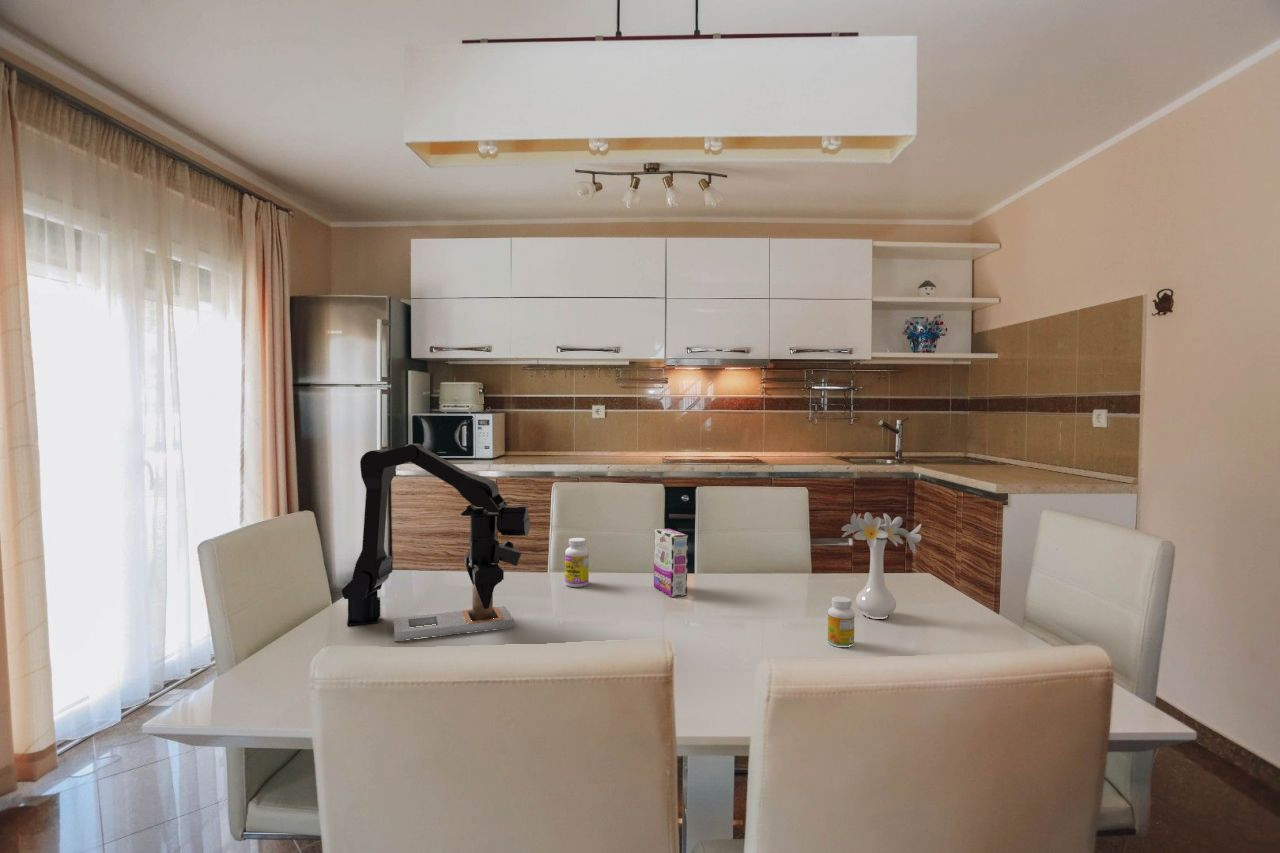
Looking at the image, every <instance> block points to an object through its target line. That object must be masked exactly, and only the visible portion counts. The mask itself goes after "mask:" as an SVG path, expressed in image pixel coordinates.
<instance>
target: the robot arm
mask: <svg viewBox="0 0 1280 853" xmlns="http://www.w3.org/2000/svg"><path fill="white" fill-rule="evenodd" d="M359 462H360V463H359V466H360V474H361V479H362V482H363V484H364V487H365V500H364V501H365V502H364V515H363V516H364V517H363V519H364V520H363V532H362V545H361V546H362V549H361V552H360V554H359V556H358V558H357V561H356V563H355V565H354V570H353V572H352V573H353V574H352V577H351V578H352V579H351V580H350V581H349V582H348V583H347V584H346V585H345V586H344V587H343V588H342V589H341V594H342V597H343V600H347V622H346V625H347V626H348V627H349V626H357V625H367V624H376V623H379V619H380V618H381V597H380V596H379V597H378V591H379V590H381V589H382V586H383V585H384V583H385V582H386V581H387V580H388V579H389V577H390V574H392V573H393V570H392V562H393V555H387V552H386V551H385V538H386V536H385V535H386V525H387V524H386V521H387V508H388V507H387V506H388V495H389V494H388V493H389V487H390V485H391V483H392V481H393V479H394V476H395V473H396V469H397V466H400V465H404V464H407V463H412V464H413V465H415V466H417V467H418V468H421V469H423V470H424V471H426V472H427V473H429V474H431V475H433V476H434V477H436V478H438V479H439V480H441V481H443V482H445V483H446V484H448V485H450V487H451V486H452V487H453V488H454V489H455V490H457V492H458V493H459V495H460V496H461V497H462V498H463V499H465V500H466V501H467V502H468V503H470V504H468V505H467V506H466V508H465V509H464V510H463V511H462V512H461V513H460V515H461V517H470V522H469V523H470V526H469V527H470V532H469V533H470V535H469V536H470V537H469V538H468V543H469V545H470V547H469V549H470V550H469V551H468V552H467V553H465V555H464V565H465V569H466V571H467V574H468V576H469V578H470V581H471V584H472V586H473V585H475V587H476V590H477V592H478V595H479V598H480V600H481V603H482V605H483V608H484V609H488V608H489V605H490V602H491V598H492V594H494V590H495V587H496V586H497V585H498V584H500V583H502V581H503V580H504V577H505V575H504V574H505V572H504V570H503V568H502V567H501V566H500V565H499V564H500V562H503V563H507V564H510V565H512V566H513V567H517V566H518V565H519V562H520V559H521V555H522V552H521V551H520V550H519V549H518V548H517V547H514V543H513V542H512V541H510V540H505V541H504V542H503V543H500V542H499V540H498V539H497V532H498V533H500V535H501V536H508V537H510V536H513V537H518V536H520V537H527V536H528V535H529V532H530V528H531V527H530V526H531V517H530V515H529V511H528V506H527V505H518V506H517V505H516V506H512V505H511V506H510V505H508V503H507V502H506V501H505V499H504V498H503V496H502V494H500V493H499V492H500V490H499V486H498V484H497V482H495V481H494V480H492V479H489V478H488V477H484V476H481V475H480V474H479V475H478V474H475V473H471V472H468V471H466V470H464V469H462V468H460V467H458V466H457V465H455V464H453V463H452V462H450V461H448V460H447V459H445V458H443V457H441V456H439V455H438V454H436V453H435V452H432V451H431V450H429V449H427V448H426V447H425V446H423V444H421V443H419V442H418V443H409V444H406V445H405V446H401V447H398V448H395V449H391V450H390V449H389V448H388V449H387V448H383V449H382V448H381V449H374V450H369V451H366V453H364V454H363V455H362V456H361V458H360V461H359Z"/></svg>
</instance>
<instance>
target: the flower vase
mask: <svg viewBox="0 0 1280 853" xmlns="http://www.w3.org/2000/svg"><path fill="white" fill-rule="evenodd" d="M861 514H862V513H859V514H858V515H857V516H856V513H855V512H853V514H852V515H851V518H850V524H849V523H848V524H845V525H843V526H842V527H841V531H843V532H844V533H843V534H842V536H841V538H845V537H846V536H848V535H850V534H852V533H855V532H856V533H855V534H854V536H853V537H854V539H855V540H856V541H858V540H859V541H867V543H866V544H867V545H868V547H869V552H870V553H869V554H870V560H869V561H870V562H869V572H868V573H869V574H868V579H867V582H866V583H865V586H864V587H863V588H862V589H861V590H860V591H859V592H858V593H857V595H856V598H855V604H856V606H857V608H858V609H859V610H860V611H863V613H864V614H866V615H869V616H873V617H886V616H888V614H889V615H890V614H893V612H894V611H895V610H896V608H897V601H896V600H897V599H896V598H895V597H894V595H893V594H892V593H891V592H890V591H889V589H888V586H887V585H886V582H885V575H884V554H885V547H886V544H887V543H888V540H889V541H890V542H892V544H894V546H896V547H898V545H899V544H901V545H903V544H904V541H903V539H902V538H901V537H904V538H906V541H907V543H908V546H909V549H910V551H911V552H912V554H913V555H915V554H916V543H920V541H921V540H922V535H921V534H920V533H918V532H919V531H920V530H921V527H922V525H923V524H922V523H920V524H918V526H916V527H915V528H914V529H913V530H912V531H908V530H907V529H906V528H903V527H900V526H902V525H903V518H902V517H901V516H896V517H895V518H894V519H893V520H892V519H891V517H890V516H889V514H887V513H883V514H882V515H883V518H881V517H879V516H877V517H875V518H874V517H873V515H872V514H871V512H867V511H866V512H865V514H864V516H863V518H861ZM857 531H858V532H857ZM900 536H901V537H900ZM898 543H899V544H898Z"/></svg>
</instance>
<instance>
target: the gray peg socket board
mask: <svg viewBox="0 0 1280 853" xmlns="http://www.w3.org/2000/svg"><path fill="white" fill-rule="evenodd" d="M493 618H494V619H485V620H476V621H471V620H472V608H470V609H463V610H458V611H457V610H456V611H450V612H438V613H430V614H429V613H428V614H420V615H412V616H411V615H410V616H403V617H402V616H399V617H394V618H393V636H394V638H395V639H394V642H395V641H400V642H402V641H401V640H406V639H414V638H421V637H432V636H440V635H449V634H458V633H467V632H475V631H484V632H486V631H485V630H492V631H494V630H493V629H500V630H503V629H502V628H509V629H514V619H513V616H512V615H511V613H510V611H508V609H507V607H506V606H505V605H504V606H498V607H497V606H493ZM432 624H436V625H432ZM424 625H432V626H424ZM416 626H423V627H416ZM409 627H414V628H409ZM475 633H476V632H475ZM467 634H468V633H467Z"/></svg>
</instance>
